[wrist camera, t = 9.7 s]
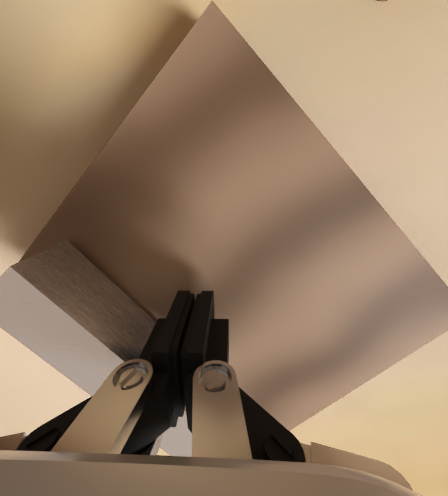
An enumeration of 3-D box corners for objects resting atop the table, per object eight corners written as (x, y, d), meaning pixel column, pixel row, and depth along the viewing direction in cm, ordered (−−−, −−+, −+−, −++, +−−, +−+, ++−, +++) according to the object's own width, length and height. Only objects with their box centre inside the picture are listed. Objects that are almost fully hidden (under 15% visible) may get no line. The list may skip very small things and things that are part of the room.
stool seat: (433, 291, 14) (472, 316, 12) (251, 416, 18) (254, 453, 16) (216, 35, 11) (212, -1, 8) (41, 260, 14) (5, 278, 12)
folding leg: (278, 435, 15) (290, 499, 12) (247, 451, 15) (251, 516, 12) (66, 239, 11) (9, 266, 8) (35, 270, 11) (-29, 306, 9)
